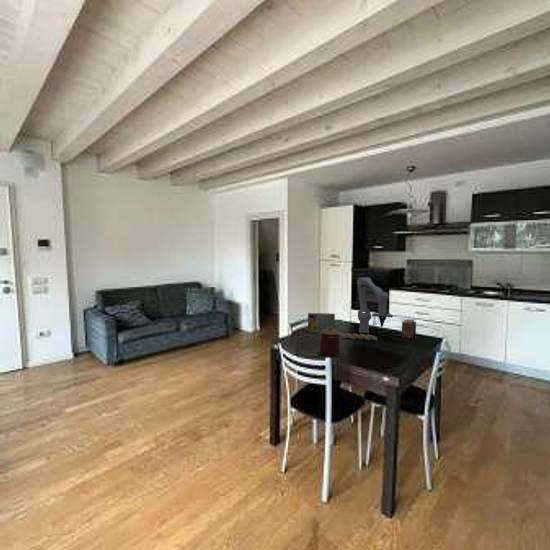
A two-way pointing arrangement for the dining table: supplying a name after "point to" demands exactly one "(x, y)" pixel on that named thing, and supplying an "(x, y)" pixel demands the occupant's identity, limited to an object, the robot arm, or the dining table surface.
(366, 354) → the dining table surface
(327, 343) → the canister
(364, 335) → the domino
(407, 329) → the stack of blocks
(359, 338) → the terracotta domino
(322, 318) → the snack box
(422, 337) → the dining table surface
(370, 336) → the domino
